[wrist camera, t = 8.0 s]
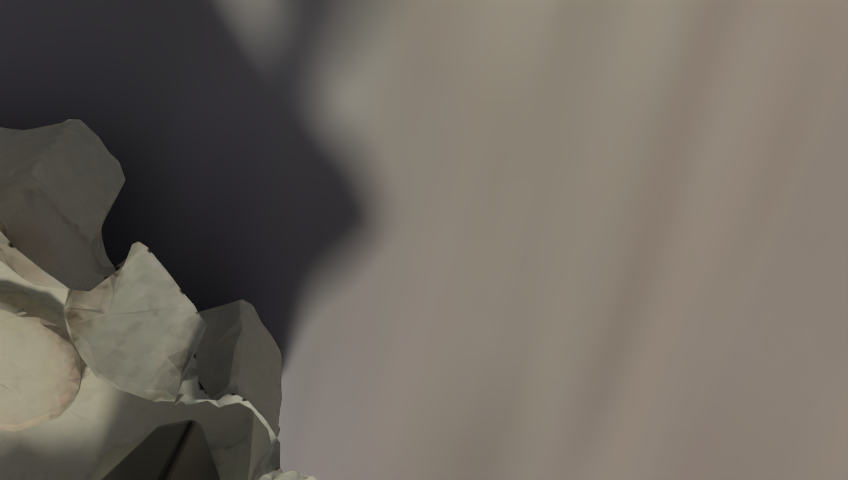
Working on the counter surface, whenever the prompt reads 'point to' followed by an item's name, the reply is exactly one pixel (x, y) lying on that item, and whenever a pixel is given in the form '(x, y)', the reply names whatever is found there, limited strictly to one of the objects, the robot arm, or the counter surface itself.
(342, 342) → the counter surface
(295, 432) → the counter surface
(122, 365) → the egg carton
